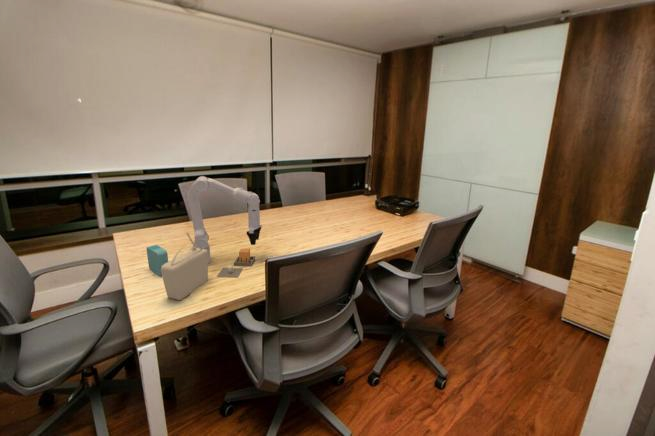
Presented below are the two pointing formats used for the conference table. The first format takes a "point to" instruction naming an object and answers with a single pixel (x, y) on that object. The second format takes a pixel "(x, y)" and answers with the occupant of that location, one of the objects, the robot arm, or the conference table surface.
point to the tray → (243, 262)
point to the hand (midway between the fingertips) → (254, 242)
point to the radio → (185, 272)
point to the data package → (156, 258)
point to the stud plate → (233, 275)
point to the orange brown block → (244, 255)
